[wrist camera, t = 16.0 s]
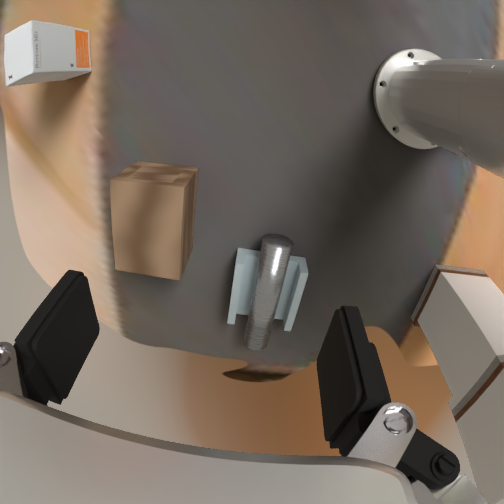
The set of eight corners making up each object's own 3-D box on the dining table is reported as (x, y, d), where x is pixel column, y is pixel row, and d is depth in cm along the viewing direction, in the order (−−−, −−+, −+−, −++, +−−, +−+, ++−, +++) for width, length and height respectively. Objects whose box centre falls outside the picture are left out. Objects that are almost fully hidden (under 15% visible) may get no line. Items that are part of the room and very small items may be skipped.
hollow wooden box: (198, 167, 36) (184, 187, 29) (192, 247, 41) (179, 280, 35) (136, 161, 35) (110, 180, 29) (136, 239, 41) (115, 269, 34)
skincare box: (93, 71, 29) (33, 75, 19) (66, 80, 30) (4, 89, 19) (90, 28, 26) (31, 18, 16) (63, 38, 27) (2, 35, 16)
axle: (264, 231, 38) (261, 245, 35) (293, 237, 38) (292, 251, 35) (245, 331, 47) (241, 347, 44) (268, 335, 47) (266, 352, 44)
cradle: (305, 257, 42) (308, 273, 38) (289, 313, 47) (290, 331, 43) (237, 247, 41) (235, 263, 38) (229, 306, 46) (227, 323, 43)
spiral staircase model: (410, 317, 47) (482, 510, 17) (435, 264, 42) (548, 468, 11) (458, 318, 47) (534, 481, 17) (483, 270, 42) (589, 435, 12)
